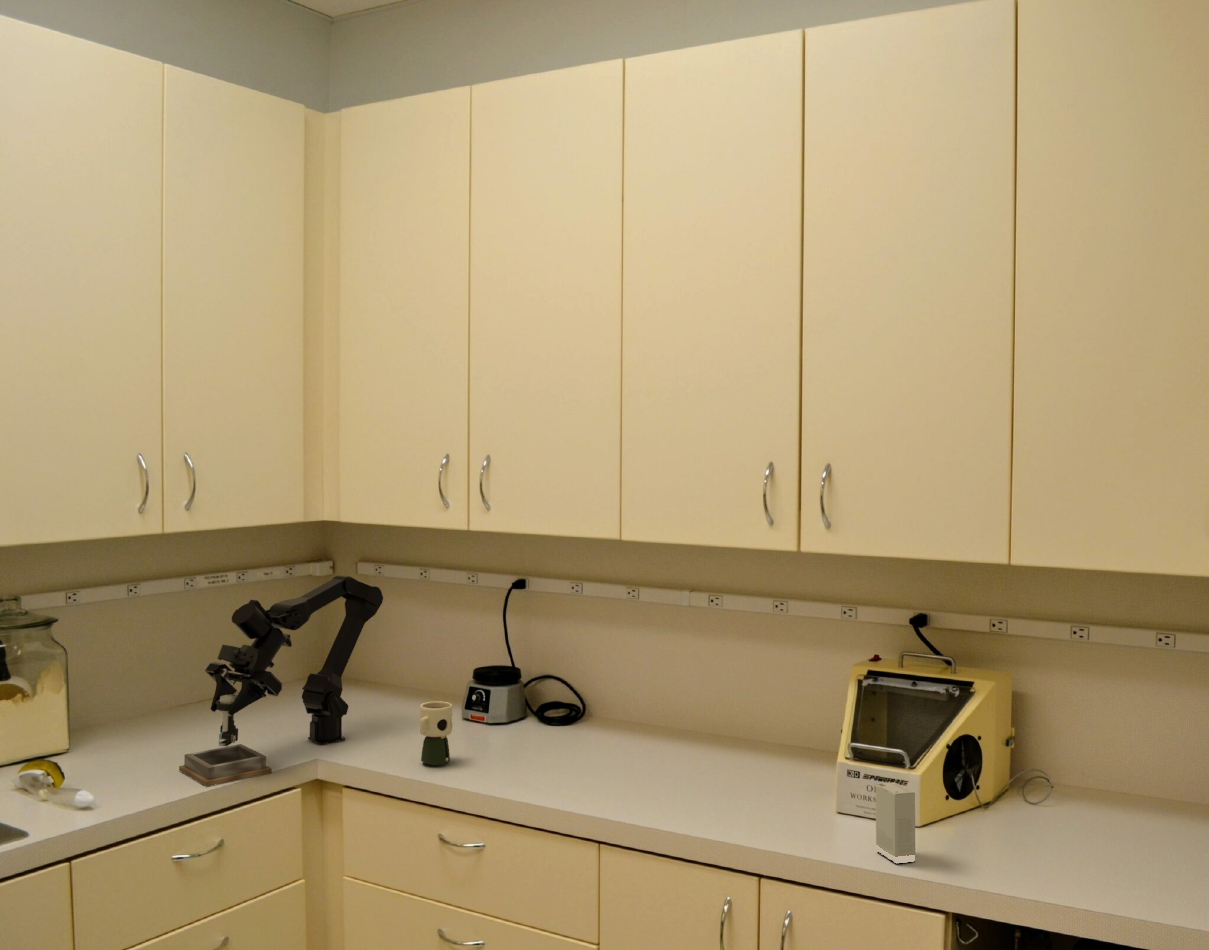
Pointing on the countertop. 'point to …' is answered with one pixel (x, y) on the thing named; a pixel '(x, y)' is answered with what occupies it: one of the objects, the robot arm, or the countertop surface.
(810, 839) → the countertop surface
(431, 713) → the character mug
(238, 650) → the robot arm
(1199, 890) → the countertop surface
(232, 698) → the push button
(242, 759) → the tray
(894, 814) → the skincare box
